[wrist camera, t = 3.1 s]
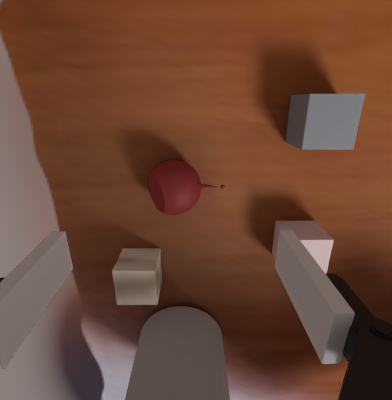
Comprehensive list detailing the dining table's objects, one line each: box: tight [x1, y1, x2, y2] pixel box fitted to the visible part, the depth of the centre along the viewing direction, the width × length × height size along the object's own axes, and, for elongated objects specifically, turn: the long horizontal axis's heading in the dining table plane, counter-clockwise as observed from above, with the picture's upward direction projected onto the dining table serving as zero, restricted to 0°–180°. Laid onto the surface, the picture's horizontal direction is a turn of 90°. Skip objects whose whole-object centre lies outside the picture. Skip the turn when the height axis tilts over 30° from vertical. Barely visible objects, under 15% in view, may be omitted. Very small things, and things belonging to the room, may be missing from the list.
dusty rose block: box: [272, 221, 334, 274], centre depth 32 cm, size 5×5×5 cm
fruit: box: [148, 160, 225, 215], centre depth 29 cm, size 6×6×8 cm
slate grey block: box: [285, 94, 365, 150], centre depth 27 cm, size 5×5×5 cm
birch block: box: [112, 248, 162, 305], centre depth 33 cm, size 5×5×5 cm
